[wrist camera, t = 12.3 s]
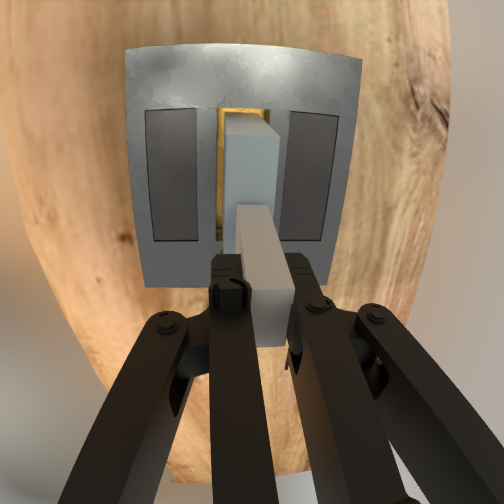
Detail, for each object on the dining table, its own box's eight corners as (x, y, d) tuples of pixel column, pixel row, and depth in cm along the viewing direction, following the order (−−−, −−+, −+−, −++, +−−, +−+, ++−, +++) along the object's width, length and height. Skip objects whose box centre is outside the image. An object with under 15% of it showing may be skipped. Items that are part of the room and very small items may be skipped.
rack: (129, 53, 19) (114, 49, 16) (353, 61, 21) (373, 61, 18) (144, 266, 30) (137, 291, 27) (323, 265, 32) (334, 288, 28)
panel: (224, 112, 22) (226, 135, 14) (257, 112, 22) (279, 136, 14) (222, 217, 27) (224, 290, 18) (251, 217, 27) (266, 289, 19)
